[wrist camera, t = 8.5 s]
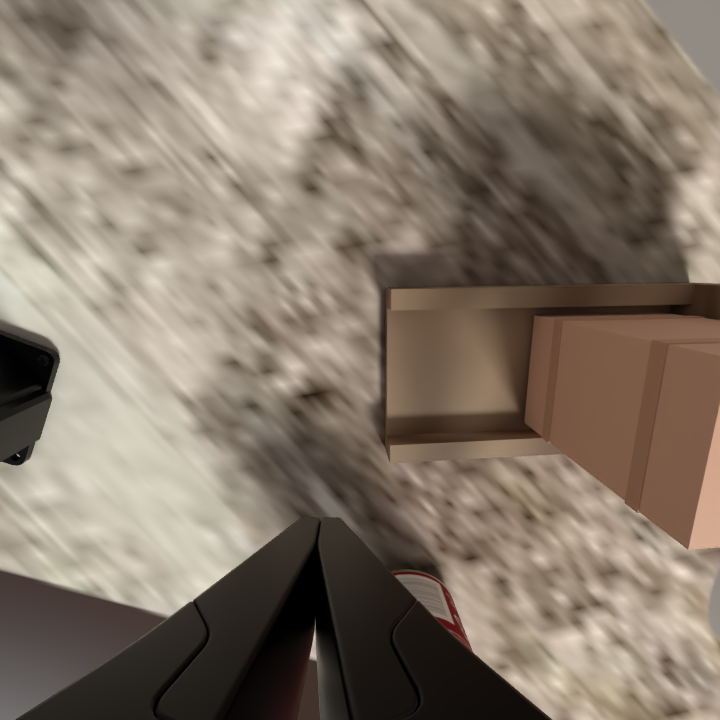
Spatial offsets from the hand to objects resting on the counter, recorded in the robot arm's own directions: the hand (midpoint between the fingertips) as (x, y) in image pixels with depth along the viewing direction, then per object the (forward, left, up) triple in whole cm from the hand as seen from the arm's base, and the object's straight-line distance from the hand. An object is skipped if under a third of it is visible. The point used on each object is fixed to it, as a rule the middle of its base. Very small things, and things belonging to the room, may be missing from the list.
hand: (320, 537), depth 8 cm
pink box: (+13, +6, -12) cm, 19 cm away
